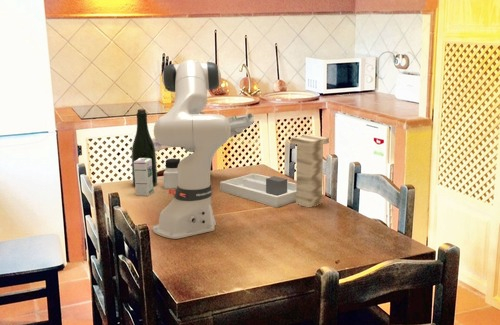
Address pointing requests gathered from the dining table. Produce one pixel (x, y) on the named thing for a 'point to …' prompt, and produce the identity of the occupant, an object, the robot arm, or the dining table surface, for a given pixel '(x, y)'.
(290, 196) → the tray
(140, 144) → the wine bottle
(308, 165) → the ribbed beige tower
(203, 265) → the dining table surface
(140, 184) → the syrup box
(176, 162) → the medicine bottle
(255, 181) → the grey mallet
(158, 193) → the dining table surface
